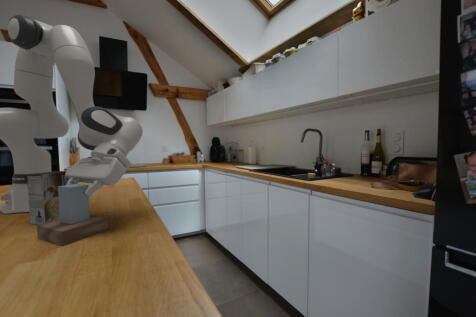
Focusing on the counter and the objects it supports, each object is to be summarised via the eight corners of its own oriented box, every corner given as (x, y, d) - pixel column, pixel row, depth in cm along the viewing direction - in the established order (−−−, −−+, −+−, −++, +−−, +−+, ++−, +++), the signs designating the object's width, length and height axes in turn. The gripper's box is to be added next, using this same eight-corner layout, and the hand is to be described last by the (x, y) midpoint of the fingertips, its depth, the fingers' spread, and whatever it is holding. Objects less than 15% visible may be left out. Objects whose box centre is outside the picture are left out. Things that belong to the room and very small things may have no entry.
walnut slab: (37, 239, 61) (36, 225, 61) (83, 225, 72) (83, 213, 72) (63, 247, 56) (62, 232, 56) (108, 231, 67) (108, 218, 67)
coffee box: (57, 215, 81) (55, 170, 80) (72, 216, 80) (70, 171, 79) (28, 224, 72) (26, 173, 71) (45, 225, 71) (42, 174, 70)
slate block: (59, 222, 63) (58, 186, 62) (78, 217, 67) (76, 183, 67) (71, 224, 61) (69, 187, 61) (89, 219, 66) (88, 184, 65)
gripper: (79, 150, 75) (45, 184, 66) (122, 150, 66) (89, 189, 58) (93, 163, 79) (63, 196, 71) (135, 164, 70) (107, 203, 62)
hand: (75, 193), depth 64 cm, fingers open, 8 cm apart
